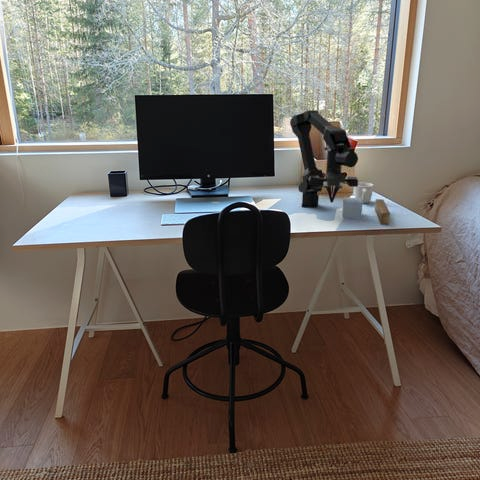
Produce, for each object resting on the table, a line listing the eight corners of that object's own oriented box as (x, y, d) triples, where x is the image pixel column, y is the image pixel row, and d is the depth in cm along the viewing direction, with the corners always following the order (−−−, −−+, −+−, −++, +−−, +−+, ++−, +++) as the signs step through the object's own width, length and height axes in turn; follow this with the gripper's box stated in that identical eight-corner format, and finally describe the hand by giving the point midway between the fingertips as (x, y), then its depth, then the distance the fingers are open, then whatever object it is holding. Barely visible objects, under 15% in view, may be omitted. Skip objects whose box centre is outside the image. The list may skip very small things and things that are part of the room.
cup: (373, 206, 182) (375, 188, 180) (354, 205, 184) (355, 187, 181) (371, 200, 192) (372, 182, 189) (353, 199, 194) (354, 182, 191)
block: (342, 218, 168) (343, 202, 165) (342, 213, 174) (343, 197, 172) (361, 218, 166) (362, 202, 164) (359, 213, 173) (361, 198, 171)
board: (380, 224, 159) (381, 212, 158) (374, 209, 178) (375, 199, 176) (388, 224, 159) (390, 213, 157) (382, 209, 177) (383, 199, 176)
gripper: (308, 166, 159) (307, 206, 164) (360, 167, 155) (357, 208, 161) (310, 161, 169) (308, 199, 174) (358, 162, 166) (355, 201, 171)
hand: (331, 202), depth 170 cm, fingers closed
